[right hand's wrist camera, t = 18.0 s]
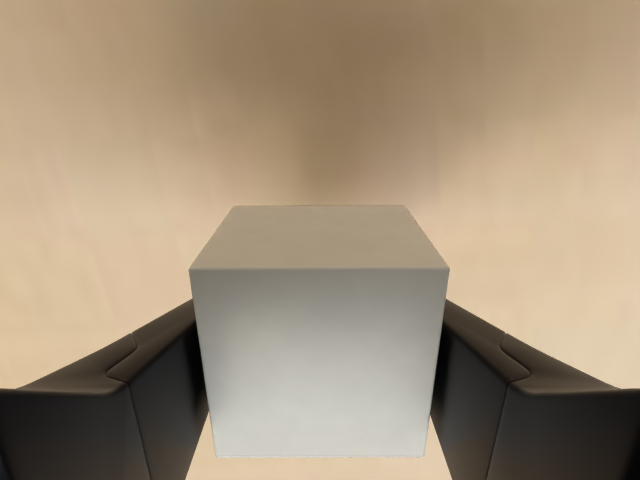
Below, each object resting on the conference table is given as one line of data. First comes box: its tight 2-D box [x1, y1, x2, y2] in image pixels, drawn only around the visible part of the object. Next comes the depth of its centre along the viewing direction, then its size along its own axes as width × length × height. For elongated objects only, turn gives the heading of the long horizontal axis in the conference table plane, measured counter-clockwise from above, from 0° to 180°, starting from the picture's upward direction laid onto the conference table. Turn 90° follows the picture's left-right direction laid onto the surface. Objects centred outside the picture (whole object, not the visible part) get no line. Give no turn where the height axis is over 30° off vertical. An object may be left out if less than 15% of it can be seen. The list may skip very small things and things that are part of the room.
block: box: [189, 205, 450, 458], centre depth 10 cm, size 5×5×4 cm
